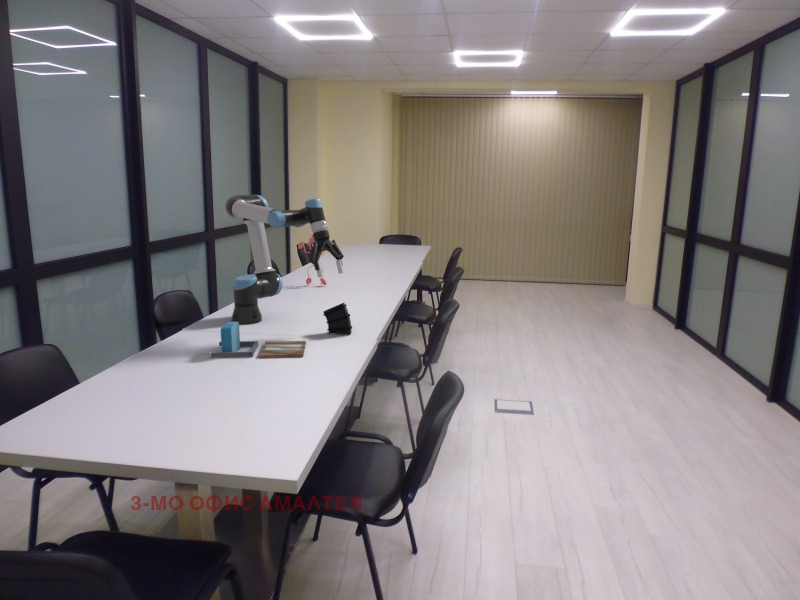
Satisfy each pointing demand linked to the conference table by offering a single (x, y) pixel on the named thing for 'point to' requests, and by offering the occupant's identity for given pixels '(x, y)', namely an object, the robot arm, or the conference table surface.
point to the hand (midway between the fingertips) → (331, 275)
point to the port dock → (282, 349)
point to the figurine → (313, 264)
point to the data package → (230, 337)
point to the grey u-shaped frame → (238, 354)
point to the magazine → (338, 319)
